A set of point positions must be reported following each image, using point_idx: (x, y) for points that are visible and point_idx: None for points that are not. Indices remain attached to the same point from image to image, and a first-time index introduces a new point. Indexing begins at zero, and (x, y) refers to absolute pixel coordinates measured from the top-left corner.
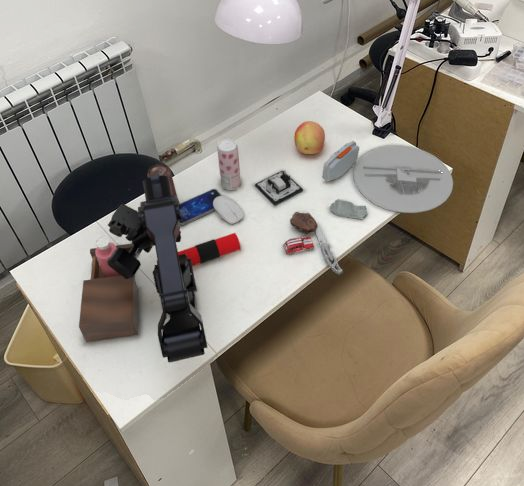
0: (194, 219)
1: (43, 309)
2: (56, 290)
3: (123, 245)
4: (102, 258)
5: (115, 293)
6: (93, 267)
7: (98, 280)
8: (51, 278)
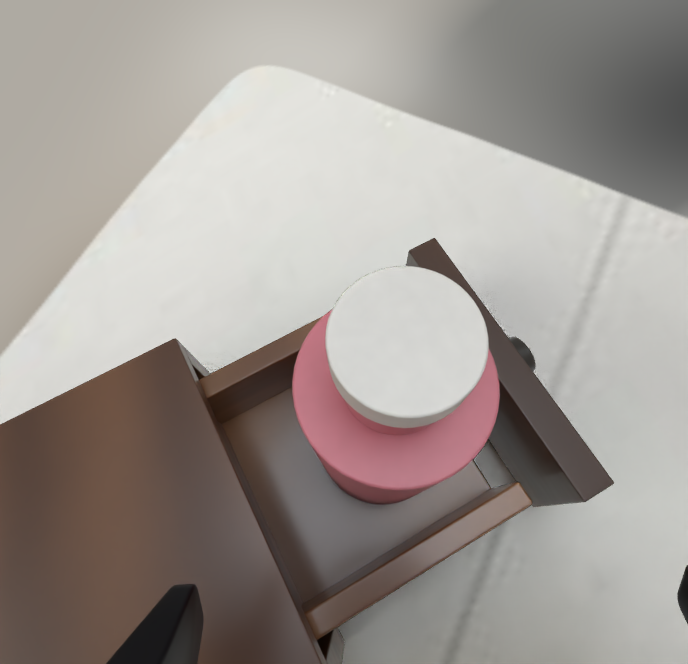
0: None
1: (111, 233)
2: (216, 226)
3: (561, 427)
4: (296, 405)
5: (107, 648)
6: None
7: (197, 437)
8: (268, 175)
